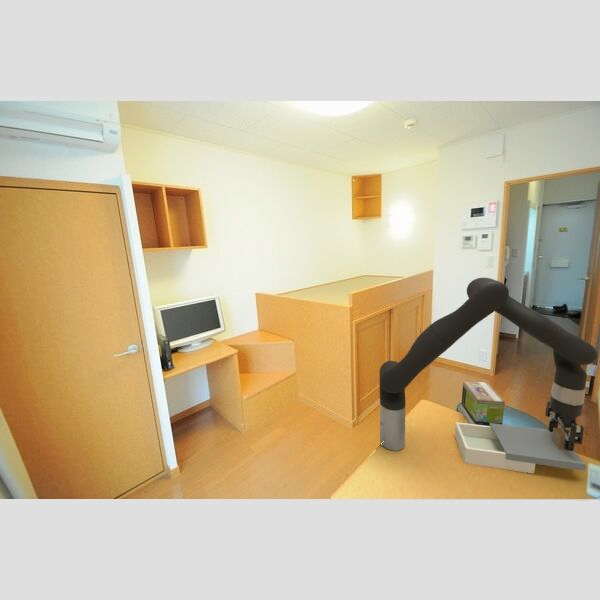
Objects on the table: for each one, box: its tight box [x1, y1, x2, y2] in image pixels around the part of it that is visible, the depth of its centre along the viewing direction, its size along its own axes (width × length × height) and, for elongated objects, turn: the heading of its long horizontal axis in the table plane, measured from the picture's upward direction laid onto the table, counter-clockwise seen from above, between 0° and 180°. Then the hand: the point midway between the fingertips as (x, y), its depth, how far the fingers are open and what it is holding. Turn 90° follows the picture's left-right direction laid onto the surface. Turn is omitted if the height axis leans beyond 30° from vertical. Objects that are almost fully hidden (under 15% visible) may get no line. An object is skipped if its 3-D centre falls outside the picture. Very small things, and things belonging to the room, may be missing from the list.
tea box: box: [460, 380, 506, 426], centre depth 112 cm, size 15×10×15 cm, turn 168°
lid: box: [489, 423, 587, 472], centre depth 92 cm, size 21×15×7 cm
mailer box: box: [454, 421, 536, 474], centre depth 96 cm, size 20×14×6 cm
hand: (560, 440), depth 89 cm, fingers open, 8 cm apart
